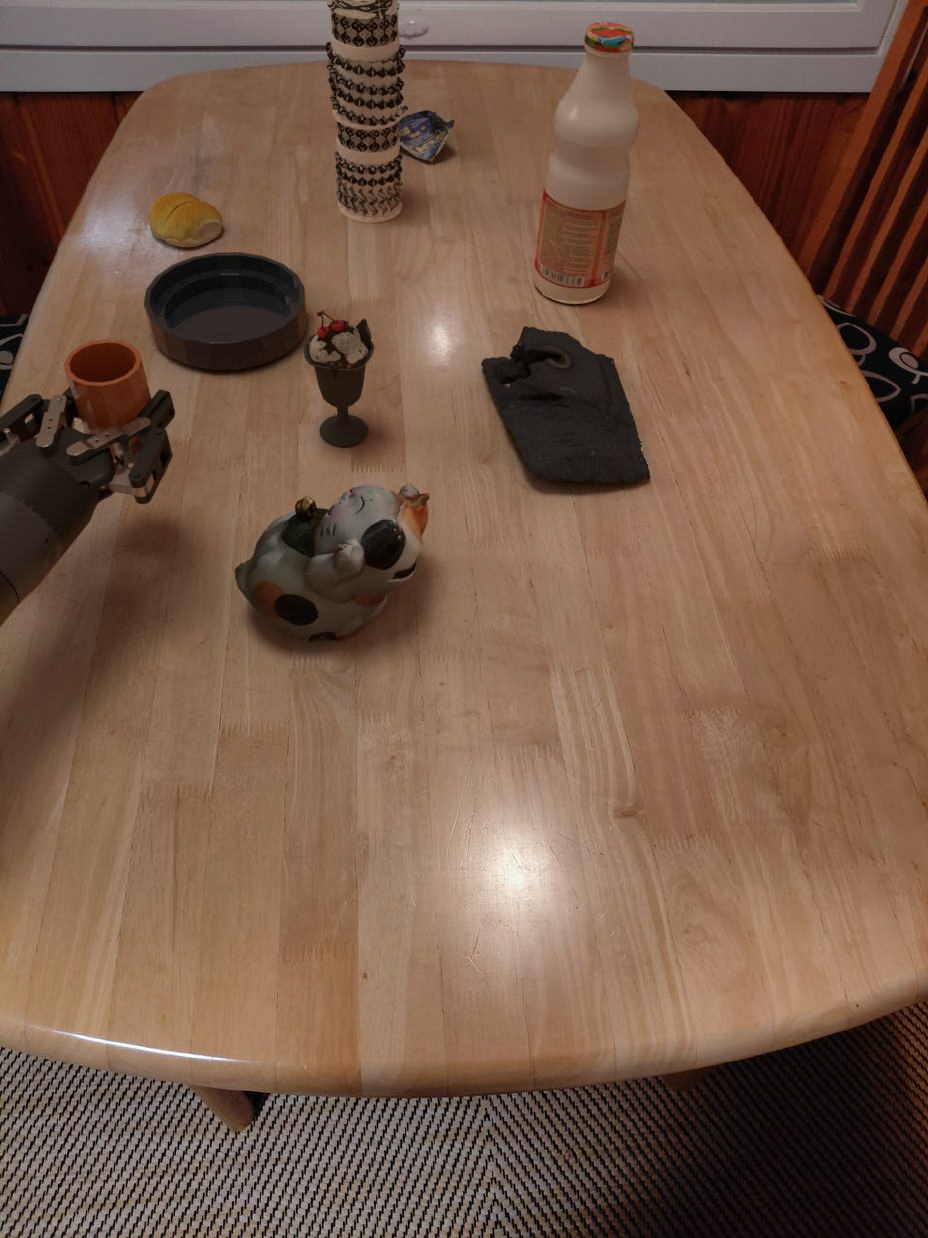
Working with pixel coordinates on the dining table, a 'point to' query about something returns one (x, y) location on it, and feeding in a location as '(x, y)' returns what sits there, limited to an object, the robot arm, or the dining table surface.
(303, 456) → the dining table surface
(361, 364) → the sundae
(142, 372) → the tumbler
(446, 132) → the snack package
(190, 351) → the bowl
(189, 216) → the bread roll
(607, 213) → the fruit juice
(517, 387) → the dark slate chunk
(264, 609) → the lucky cat figurine
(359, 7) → the cream patterned cylinder
